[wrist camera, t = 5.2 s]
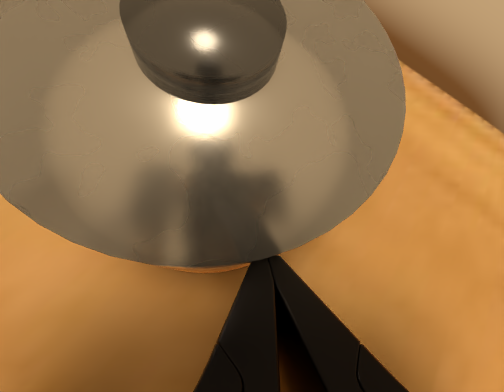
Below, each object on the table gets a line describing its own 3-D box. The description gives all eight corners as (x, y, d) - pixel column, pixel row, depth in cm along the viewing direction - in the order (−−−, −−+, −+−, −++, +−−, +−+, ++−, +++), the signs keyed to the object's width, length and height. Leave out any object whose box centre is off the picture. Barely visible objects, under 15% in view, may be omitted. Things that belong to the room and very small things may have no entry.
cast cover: (350, 131, 18) (471, 0, 10) (252, 326, 13) (324, 419, 4) (182, 34, 19) (156, -169, 10) (26, 184, 14) (-291, 28, 5)
